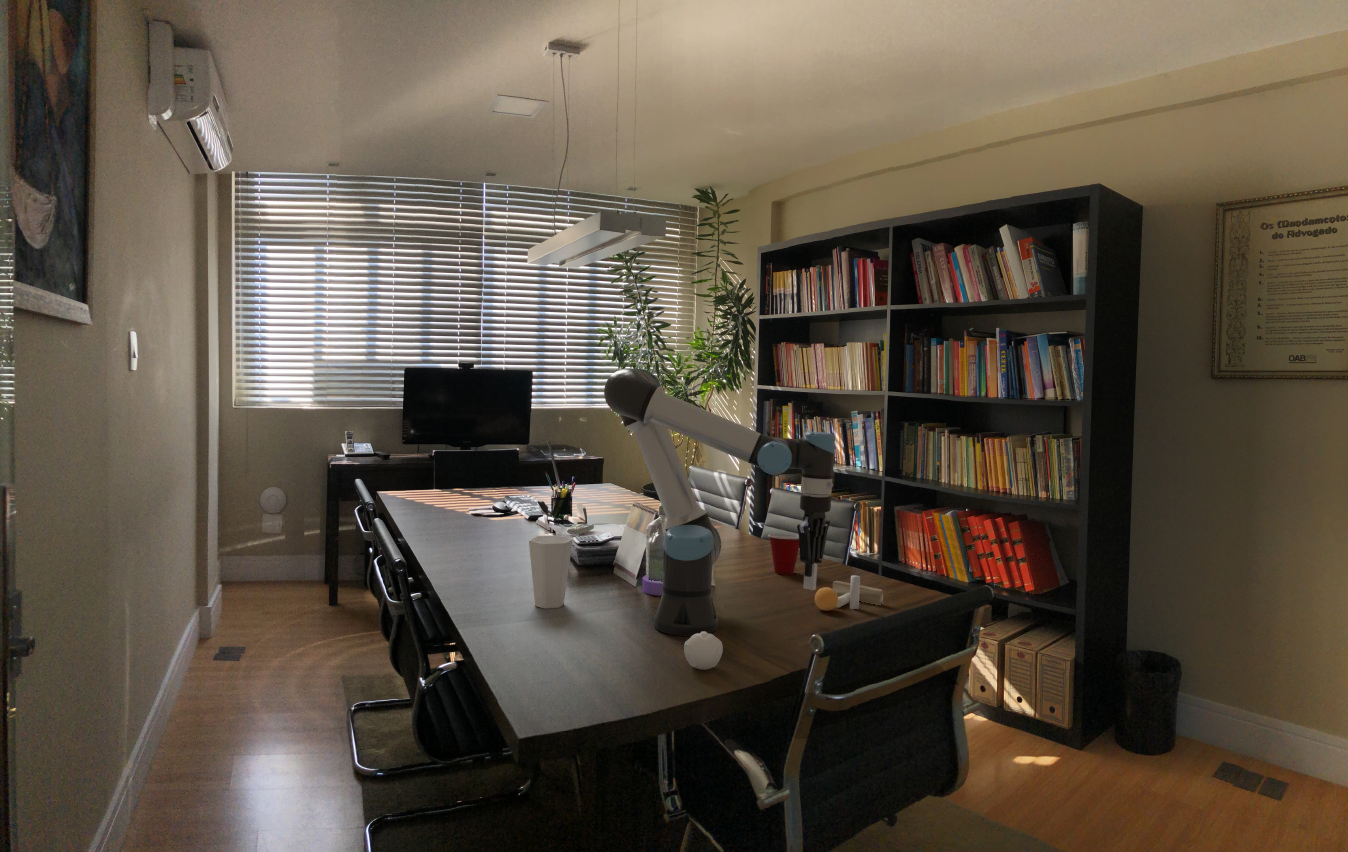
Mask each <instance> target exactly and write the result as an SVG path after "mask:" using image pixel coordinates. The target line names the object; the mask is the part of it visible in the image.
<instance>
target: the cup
mask: <svg viewBox="0 0 1348 852" xmlns="http://www.w3.org/2000/svg"><path fill="white" fill-rule="evenodd" d="M573 540H574V539H573V538H572V537H568V536H562V535H557V534H555V535H536V536H534V537H532V538H530V539H528V547H529V558H530V559H529V560H530V567H531V578H532V579H531V580H532V585H533V586H532V588H533V598H534V600H533V601H534V606H535V607H539V608H541V609H547V610H548V609H559V608H561V607H562V606H563V605H564V604H565V598H566V592H567V583H568V577H569V570H570V569H569V568H570V561H571V554H572V546H573Z"/></svg>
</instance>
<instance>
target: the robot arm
mask: <svg viewBox="0 0 1348 852" xmlns="http://www.w3.org/2000/svg"><path fill="white" fill-rule="evenodd" d="M603 395H604V400H605V403H606V404H607V406H608V407H609V408H610V409H611V410H612V411H613V412H615V413H616V414H617V415H619V416H620V418H621V421H622V423H623V426H624V428H625V429H626V430H628V431H631V432H632V433H633V435H634V438H635V440H636V442H637V445H638V447H639V451H640V453H641V455H642V458H643V460H644V463H645V466H646V468H647V470H648V473H649V476H650V478H651V479H650V480H652V483H653V486H654V489H655V491H656V495H657V497H658V498H659V502H660V504H661V507H662V509H663V512H664V514H665V517H666V519H667V520H666V523H665V525H664V531H665V533H664V538H663V542H662V546H663V547H662V548H663V559H662V560H663V564H662V565H663V566H662V573H663V593H662V596H661V597H660V600H659V603H658V606H657V610H656V613H655V615H654V620H653V621H654V623H653V624H654V625H653V626H654V628H655V629H656V630H657V631H659V632H661V633H664V634H668V635H673V636H681V637H691V636H693V635H694V634H697V633H699V634H700V633H701V632H702V631H705V632H707V633H708V634H713V633H714V632H716V631H717V630H718V628H719V627H718V622H719V621H718V619H719V618H718V615H717V612H716V609H715V605H714V601H713V598H712V587H713V586H712V581H713V577H712V576H713V565H714V563H715V562H717V560H718V558H719V555H720V554H721V549H722V540H721V536H720V533H719V531H718V530H717V529H716V527H715V526H714V525H713V524H712V522H711V518H710V516H709V514H708V511H707V510H705V509H703V508H701V507H699V504H698V502H697V499H696V497H695V493H694V492H693V490H692V486H691V484H690V482H689V480H688V476H687V474H686V471H685V469H684V466H683V464H682V461H681V459H680V456H679V454H678V451H677V448H676V446H675V443H674V440H673V437H672V436H671V433H670V431H669V430H671V431H672V432H675V433H678V434H679V435H683V436H684V437H686V438H689V439H691V440H694V441H696V442H698V443H701V444H703V445H706V446H708V447H711V448H713V449H715V450H717V451H720V452H722V453H725V454H727V455H730V456H731V457H733V458H736V459H739V460H741V461H743V462H746V463H748V464H750V465H752V466H753V467H756V468H759V469H761V470H762V471H763V472H764V473H767V474H768V475H773V476H775V475H776V476H777V475H780V474H783V473H785V472H786V471H788V469H790V470H791V469H793V470H801V482H800V492H801V493H802V494H801V495H800V497H799V508H800V510H801V511H803V512H804V513H803V517H802V522H801V524H800V523H797V525H796V529H797V533H798V535H799V560H800V562H801V563H804V572H803V574H804V575H803V587H802V589H805V590H810V591H815V590H817V577H818V576H817V575H818V564H822V563H823V558H824V554H825V546H826V543H827V542H826V541H827V536H828V531H829V528H830V525H831V520H827V519H826V517H827V516H826V513H829V512H830V511H831V509H832V508H831V507H832V506H831V505H832V497H831V496H830V495H831V494H832V488H833V487H834V484H833V478H834V476H833V475H834V466H835V465H834V464H835V450H836V449H835V447H836V445H835V444H836V437H835V435H834V434H832V433H831V432H823V431H806V432H805V433H804V435H803V438H790V437H789V438H788V437H787V438H786V437H773V436H768V435H765V434H762V433H760V432H758V431H756V430H754V429H751V428H748V427H746V426H744V425H741V424H739V423H737V422H734V421H732V420H730V419H727V418H725V417H724V416H723V417H722V416H721V415H719V414H716V413H714V412H711V411H709V410H706V409H703V408H702V407H699V406H696V405H695V404H692V403H690V402H687V401H684V400H682V399H680V398H678V397H676V396H674V395H671V394H669V393H666V392H664V390H663V386H661V383H660V381H659V379H657V377H656V376H655V375H654V374H653V373H651V372H650V371H649V370H646V369H643V368H622V369H619V370H616V371H614V372H613V373H611V375H610V376H609V377H608V379H607V380H606V382H605V384H604V388H603Z"/></svg>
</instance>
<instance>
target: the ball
mask: <svg viewBox="0 0 1348 852" xmlns="http://www.w3.org/2000/svg"><path fill="white" fill-rule="evenodd" d="M814 603H815V605H816V607H817V608H819V610H821V611H825V612H827V611H832V610H834V609H835V608H836V605H837V603H838V596H837V593H836V592H835V591H834V590H833V588H831V587H825V586H824V587H821V588H819V589H818V590H817V591H816V593H815V595H814Z"/></svg>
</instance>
